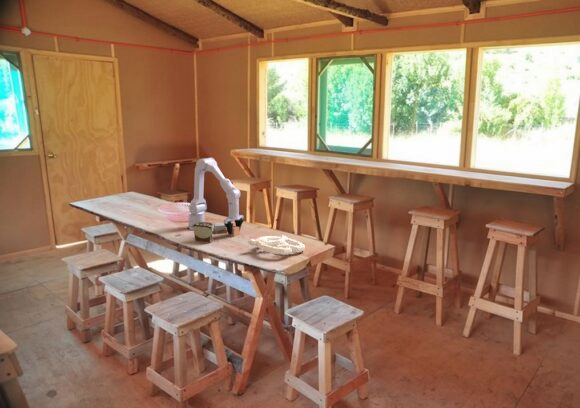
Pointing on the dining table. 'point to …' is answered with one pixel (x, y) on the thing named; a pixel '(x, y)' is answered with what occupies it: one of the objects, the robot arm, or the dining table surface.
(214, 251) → the dining table surface
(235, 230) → the peach foam cube
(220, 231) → the bottom slab
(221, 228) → the top slab
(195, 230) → the food container
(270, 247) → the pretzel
